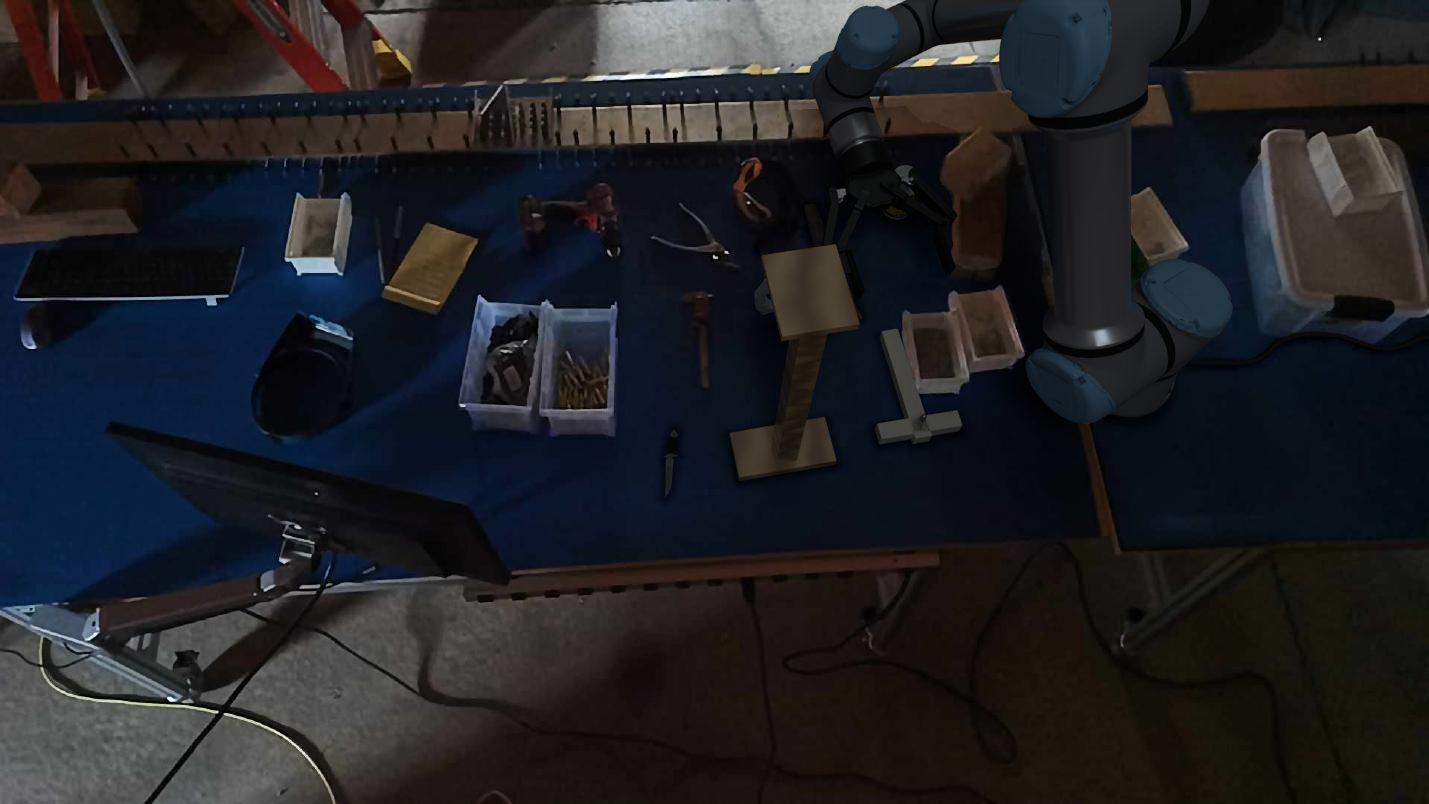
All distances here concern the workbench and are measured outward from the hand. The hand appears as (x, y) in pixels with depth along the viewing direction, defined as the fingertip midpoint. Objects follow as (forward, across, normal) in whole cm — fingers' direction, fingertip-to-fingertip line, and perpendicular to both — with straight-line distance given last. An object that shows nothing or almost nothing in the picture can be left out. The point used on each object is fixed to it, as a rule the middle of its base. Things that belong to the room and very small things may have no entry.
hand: (905, 283), depth 123 cm
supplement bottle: (-18, -8, -16) cm, 25 cm away
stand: (+17, +23, -7) cm, 29 cm away
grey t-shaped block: (+13, +3, -8) cm, 16 cm away
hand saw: (-10, +6, -14) cm, 18 cm away
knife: (+15, +39, -7) cm, 42 cm away
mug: (-2, +15, -12) cm, 19 cm away
